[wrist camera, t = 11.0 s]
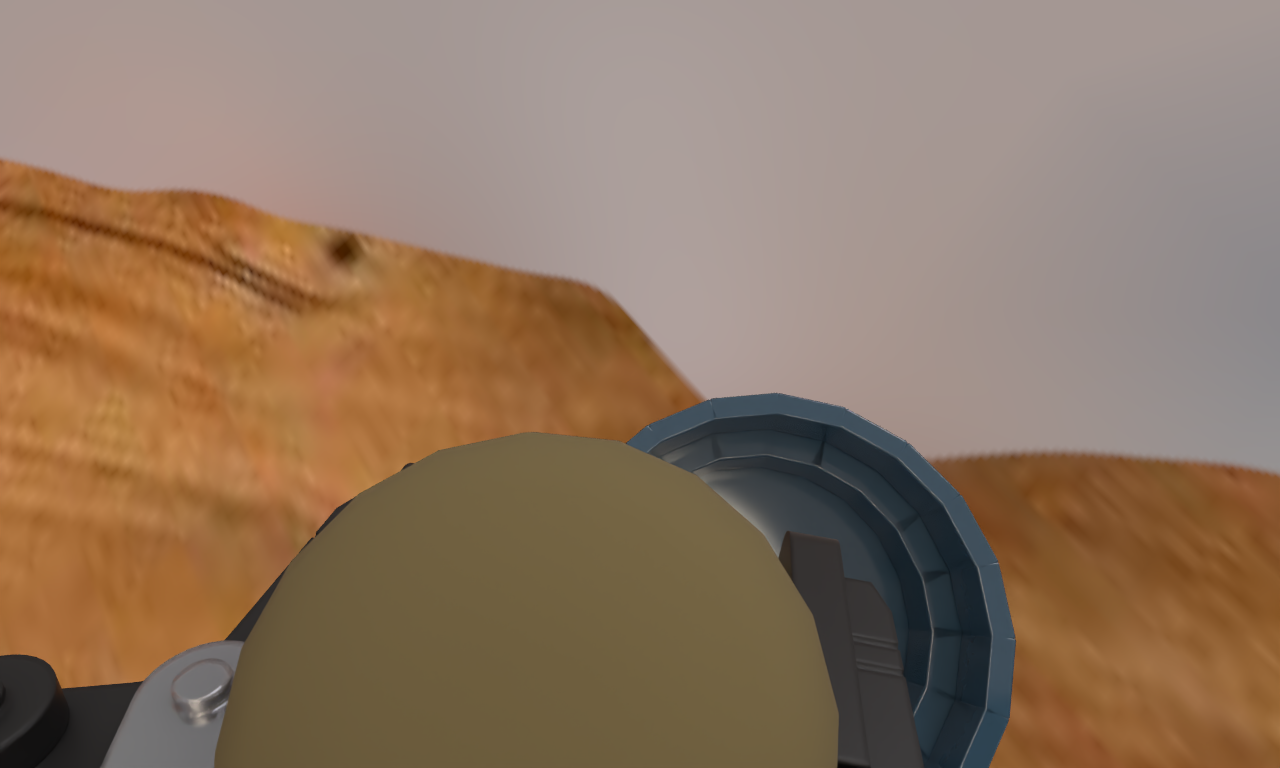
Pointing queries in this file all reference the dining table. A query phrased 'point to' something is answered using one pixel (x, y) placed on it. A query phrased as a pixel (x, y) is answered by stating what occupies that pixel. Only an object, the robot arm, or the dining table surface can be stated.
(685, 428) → the glazed bowl
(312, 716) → the olive peg figure
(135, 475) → the dining table surface
